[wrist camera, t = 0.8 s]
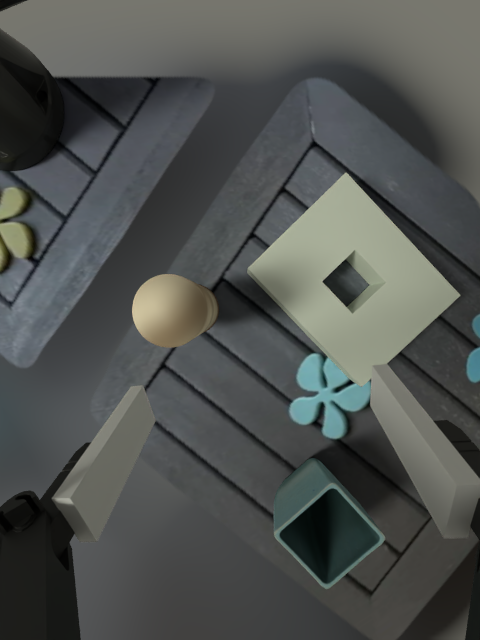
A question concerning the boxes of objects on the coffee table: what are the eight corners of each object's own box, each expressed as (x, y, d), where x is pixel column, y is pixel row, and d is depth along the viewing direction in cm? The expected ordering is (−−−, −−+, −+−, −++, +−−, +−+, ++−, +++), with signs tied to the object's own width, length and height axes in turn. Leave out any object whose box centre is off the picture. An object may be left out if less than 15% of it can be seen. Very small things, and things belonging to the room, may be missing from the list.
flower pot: (353, 483, 37) (388, 540, 28) (306, 523, 37) (326, 592, 28) (311, 438, 37) (333, 481, 28) (264, 479, 37) (271, 534, 28)
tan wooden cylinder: (168, 308, 36) (115, 310, 21) (199, 277, 36) (168, 256, 21) (199, 339, 36) (168, 364, 21) (230, 309, 36) (222, 311, 21)
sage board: (247, 272, 35) (247, 268, 31) (334, 187, 35) (346, 172, 31) (348, 378, 36) (361, 387, 32) (435, 296, 35) (460, 295, 31)
